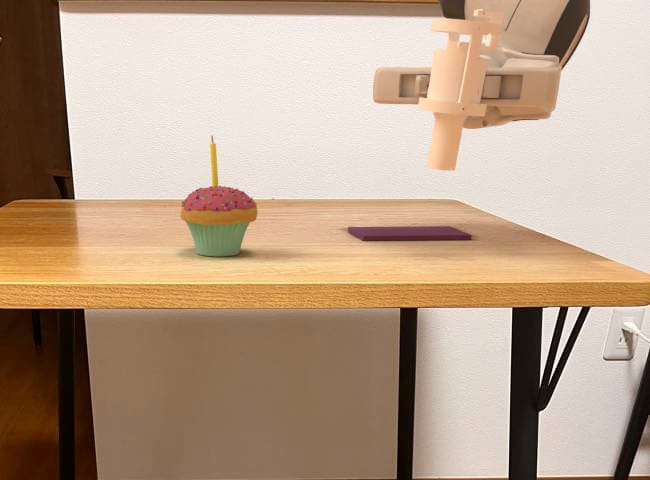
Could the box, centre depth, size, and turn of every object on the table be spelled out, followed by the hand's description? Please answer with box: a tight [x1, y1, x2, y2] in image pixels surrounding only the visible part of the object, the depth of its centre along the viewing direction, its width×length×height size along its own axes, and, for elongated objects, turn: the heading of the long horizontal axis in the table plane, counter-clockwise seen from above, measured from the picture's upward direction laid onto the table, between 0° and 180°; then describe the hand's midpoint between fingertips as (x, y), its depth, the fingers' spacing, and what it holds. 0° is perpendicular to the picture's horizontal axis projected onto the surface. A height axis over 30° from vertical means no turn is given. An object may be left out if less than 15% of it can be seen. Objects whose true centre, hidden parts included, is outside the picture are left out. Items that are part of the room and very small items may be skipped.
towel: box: [347, 225, 472, 242], centre depth 113 cm, size 14×8×1 cm, turn 98°
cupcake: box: [180, 135, 258, 258], centre depth 96 cm, size 9×8×12 cm
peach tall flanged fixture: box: [417, 9, 504, 172], centre depth 92 cm, size 7×7×15 cm
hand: (446, 86), depth 91 cm, fingers closed on peach tall flanged fixture, 4 cm apart
